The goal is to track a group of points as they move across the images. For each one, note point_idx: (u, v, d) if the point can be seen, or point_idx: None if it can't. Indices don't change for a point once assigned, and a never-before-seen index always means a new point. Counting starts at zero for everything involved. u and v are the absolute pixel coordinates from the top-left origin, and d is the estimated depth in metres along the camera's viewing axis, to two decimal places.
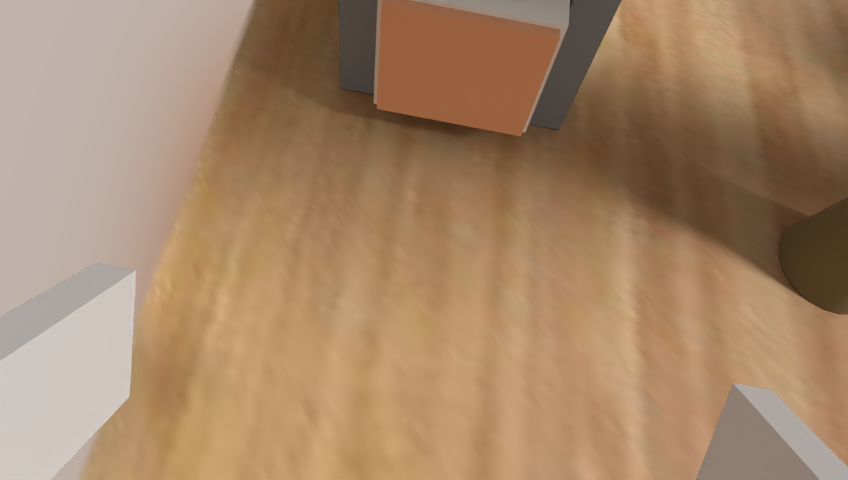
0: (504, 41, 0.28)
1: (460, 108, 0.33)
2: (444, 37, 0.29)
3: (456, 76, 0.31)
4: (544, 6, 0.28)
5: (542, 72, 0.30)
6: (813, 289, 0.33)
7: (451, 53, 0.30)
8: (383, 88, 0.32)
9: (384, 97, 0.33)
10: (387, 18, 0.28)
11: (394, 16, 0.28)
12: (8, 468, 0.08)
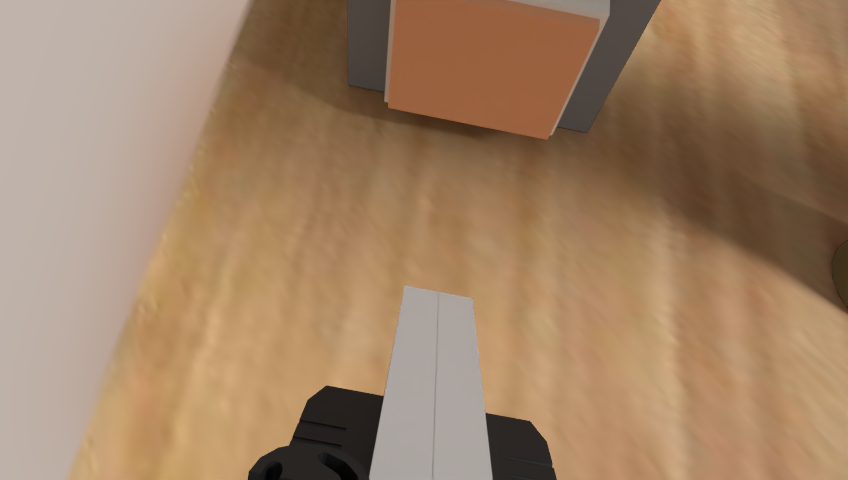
0: (535, 32, 0.25)
1: (481, 108, 0.30)
2: (467, 27, 0.25)
3: (478, 72, 0.27)
4: None
5: (576, 68, 0.26)
6: None
7: (474, 46, 0.26)
8: (396, 85, 0.29)
9: (396, 95, 0.30)
10: (403, 5, 0.25)
11: (411, 2, 0.25)
12: None
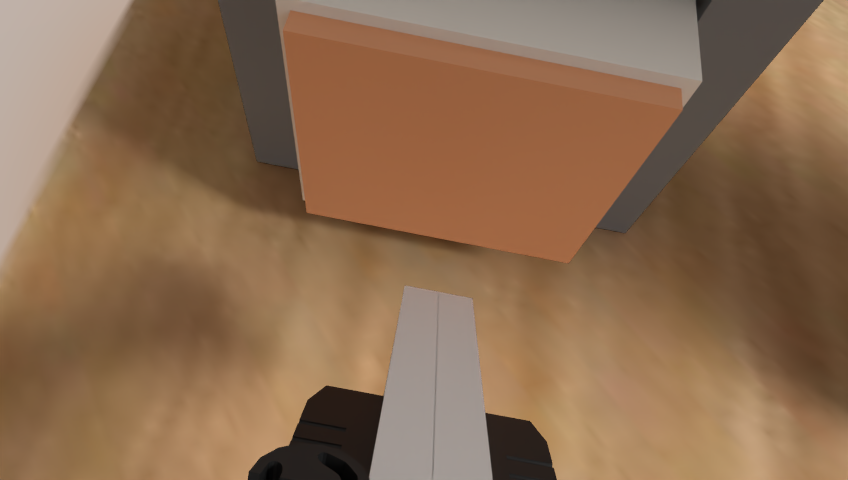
0: (556, 112, 0.13)
1: (459, 219, 0.18)
2: (425, 101, 0.13)
3: (451, 170, 0.15)
4: (645, 36, 0.13)
5: (629, 170, 0.14)
6: None
7: (441, 131, 0.14)
8: (313, 183, 0.17)
9: (317, 197, 0.18)
10: (300, 61, 0.13)
11: (314, 57, 0.13)
12: None
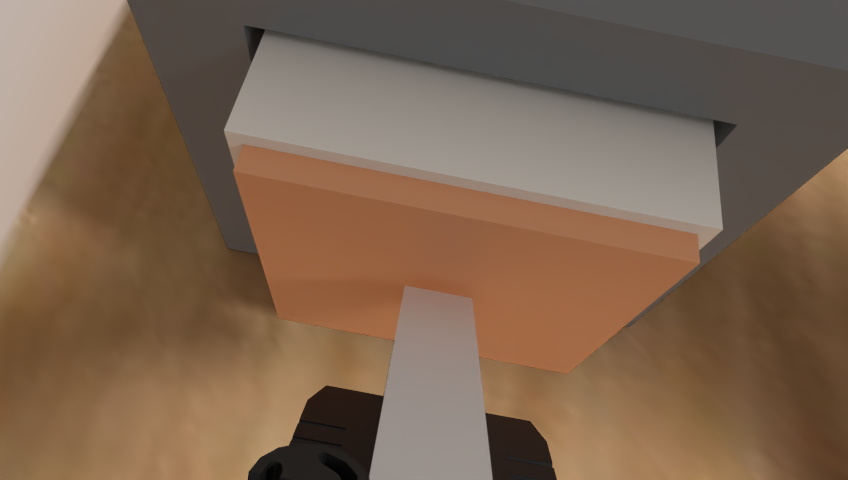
0: (552, 256, 0.11)
1: None
2: (402, 239, 0.12)
3: None
4: (655, 172, 0.11)
5: (636, 308, 0.13)
6: None
7: (421, 263, 0.12)
8: (283, 296, 0.15)
9: (289, 307, 0.16)
10: (256, 198, 0.11)
11: (272, 195, 0.11)
12: None
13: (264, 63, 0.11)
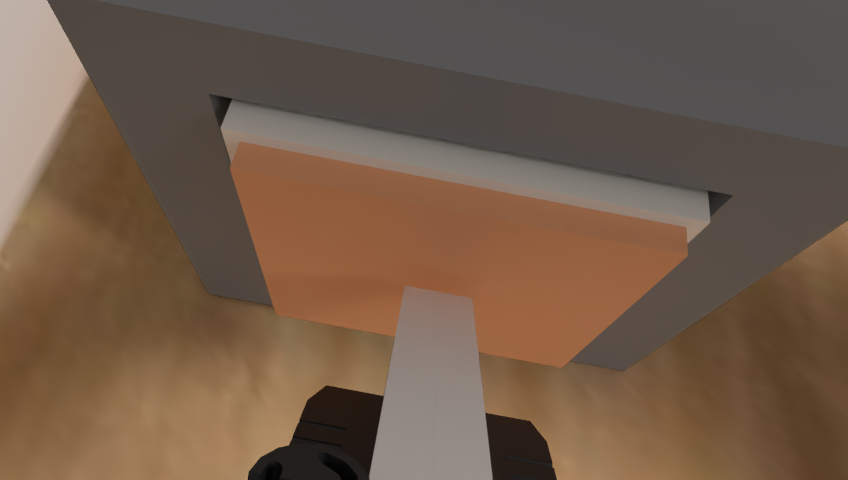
0: (544, 250, 0.11)
1: None
2: (397, 234, 0.12)
3: None
4: None
5: (627, 300, 0.13)
6: None
7: (416, 258, 0.13)
8: (280, 292, 0.16)
9: (286, 303, 0.16)
10: (253, 194, 0.11)
11: (268, 192, 0.11)
12: None
13: None
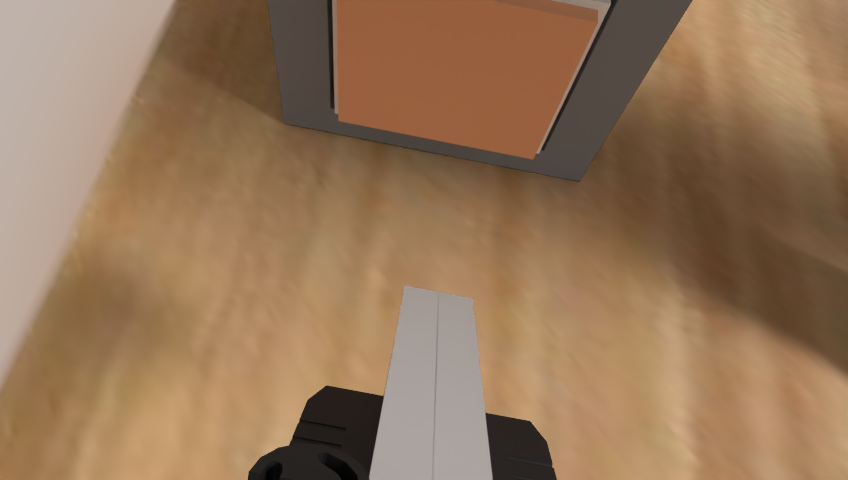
0: (516, 27, 0.19)
1: (452, 121, 0.24)
2: (429, 20, 0.20)
3: (446, 77, 0.22)
4: None
5: (568, 72, 0.21)
6: None
7: (439, 44, 0.21)
8: (346, 93, 0.24)
9: (348, 105, 0.24)
10: None
11: None
12: None
13: None
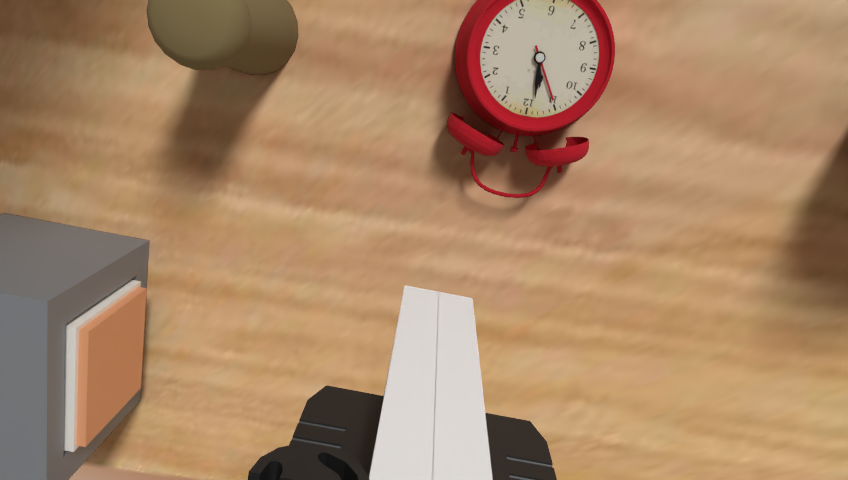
0: (94, 360, 0.38)
1: (134, 342, 0.43)
2: (97, 395, 0.39)
3: (117, 364, 0.41)
4: None
5: (108, 319, 0.39)
6: (280, 63, 0.40)
7: (105, 381, 0.40)
8: (129, 396, 0.44)
9: (134, 390, 0.45)
10: (92, 435, 0.40)
11: (90, 433, 0.39)
12: None
13: None
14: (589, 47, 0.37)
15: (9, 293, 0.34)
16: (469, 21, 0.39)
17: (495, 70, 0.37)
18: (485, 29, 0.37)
